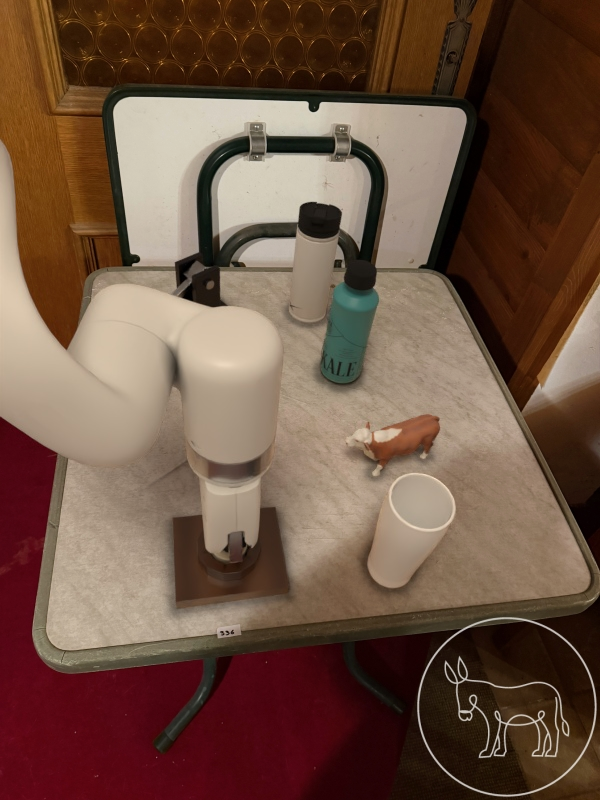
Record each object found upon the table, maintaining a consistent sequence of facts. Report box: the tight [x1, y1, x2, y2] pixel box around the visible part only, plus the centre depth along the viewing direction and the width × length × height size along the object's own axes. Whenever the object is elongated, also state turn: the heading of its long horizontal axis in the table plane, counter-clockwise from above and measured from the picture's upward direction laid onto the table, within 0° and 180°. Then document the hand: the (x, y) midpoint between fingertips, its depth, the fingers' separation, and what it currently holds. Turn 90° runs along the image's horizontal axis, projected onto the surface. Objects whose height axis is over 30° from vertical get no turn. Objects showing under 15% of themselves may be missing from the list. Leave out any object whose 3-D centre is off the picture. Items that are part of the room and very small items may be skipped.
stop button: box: [211, 543, 247, 564], centre depth 62 cm, size 4×4×2 cm
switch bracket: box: [174, 251, 229, 308], centre depth 85 cm, size 12×10×12 cm
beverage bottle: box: [319, 259, 380, 384], centre depth 78 cm, size 6×7×20 cm
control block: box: [172, 506, 290, 610], centre depth 63 cm, size 12×10×4 cm
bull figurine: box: [344, 413, 441, 477], centre depth 73 cm, size 4×13×8 cm, turn 111°
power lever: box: [170, 261, 208, 298], centre depth 82 cm, size 13×3×3 cm, turn 134°
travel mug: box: [287, 201, 343, 325], centre depth 87 cm, size 6×7×20 cm
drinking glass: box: [366, 472, 457, 589], centre depth 60 cm, size 7×7×15 cm
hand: (230, 542), depth 61 cm, fingers closed
